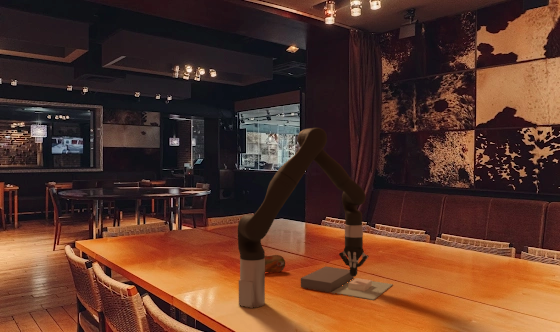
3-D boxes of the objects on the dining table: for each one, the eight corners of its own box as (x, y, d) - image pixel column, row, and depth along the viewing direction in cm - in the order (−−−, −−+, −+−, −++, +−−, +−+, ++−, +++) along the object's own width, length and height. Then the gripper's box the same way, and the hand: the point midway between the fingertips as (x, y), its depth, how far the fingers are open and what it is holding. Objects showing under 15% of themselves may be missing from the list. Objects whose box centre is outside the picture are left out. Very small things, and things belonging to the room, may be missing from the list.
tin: (254, 274, 203) (254, 256, 203) (253, 272, 206) (253, 255, 206) (285, 272, 207) (285, 254, 207) (283, 270, 210) (283, 253, 210)
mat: (373, 300, 164) (373, 299, 164) (331, 292, 174) (331, 291, 174) (392, 285, 185) (392, 284, 185) (354, 279, 194) (354, 278, 194)
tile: (348, 282, 178) (348, 288, 178) (364, 285, 174) (364, 291, 174) (356, 278, 186) (356, 283, 186) (371, 280, 182) (371, 285, 182)
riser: (330, 292, 174) (330, 282, 174) (300, 287, 181) (300, 278, 181) (353, 279, 194) (353, 270, 194) (325, 274, 202) (325, 266, 201)
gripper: (335, 235, 181) (335, 275, 182) (365, 237, 174) (365, 280, 175) (342, 232, 188) (342, 272, 188) (371, 235, 181) (371, 276, 181)
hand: (353, 275), depth 181 cm, fingers closed
